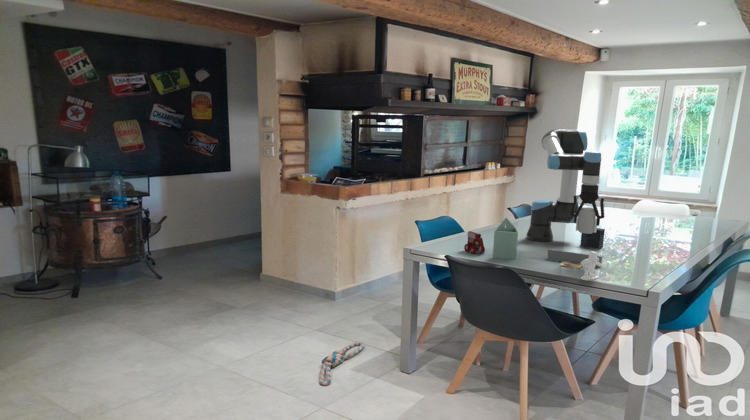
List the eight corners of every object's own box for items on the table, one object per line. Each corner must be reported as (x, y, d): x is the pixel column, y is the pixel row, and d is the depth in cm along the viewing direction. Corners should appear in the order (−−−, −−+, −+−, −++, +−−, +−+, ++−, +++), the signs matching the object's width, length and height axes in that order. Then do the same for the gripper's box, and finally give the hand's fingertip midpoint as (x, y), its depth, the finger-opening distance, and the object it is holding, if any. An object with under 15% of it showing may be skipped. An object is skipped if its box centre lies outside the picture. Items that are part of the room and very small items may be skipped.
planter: (505, 261, 237) (507, 221, 234) (492, 257, 243) (494, 218, 240) (526, 256, 247) (528, 218, 244) (513, 253, 253) (515, 216, 250)
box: (603, 247, 273) (605, 228, 271) (599, 249, 268) (601, 230, 266) (584, 244, 280) (585, 226, 278) (579, 245, 275) (581, 227, 274)
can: (574, 231, 240) (576, 206, 238) (589, 231, 241) (591, 207, 239) (582, 234, 233) (584, 209, 231) (597, 234, 234) (599, 209, 232)
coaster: (559, 266, 230) (559, 264, 230) (563, 262, 238) (563, 260, 238) (579, 269, 226) (579, 267, 226) (582, 264, 233) (583, 263, 233)
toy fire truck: (476, 255, 247) (477, 235, 245) (462, 250, 258) (463, 230, 256) (487, 254, 250) (488, 234, 248) (473, 249, 261) (474, 230, 259)
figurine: (590, 282, 206) (592, 254, 204) (577, 277, 212) (579, 250, 210) (604, 279, 210) (606, 252, 209) (591, 275, 216) (593, 249, 214)
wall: (547, 259, 243) (548, 249, 242) (549, 257, 246) (549, 247, 245) (600, 267, 230) (601, 256, 229) (601, 265, 234) (602, 255, 233)
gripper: (566, 183, 235) (562, 229, 239) (612, 186, 225) (608, 235, 228) (568, 182, 242) (565, 227, 245) (614, 185, 231) (609, 232, 235)
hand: (585, 231), depth 237 cm, fingers closed on can, 7 cm apart
